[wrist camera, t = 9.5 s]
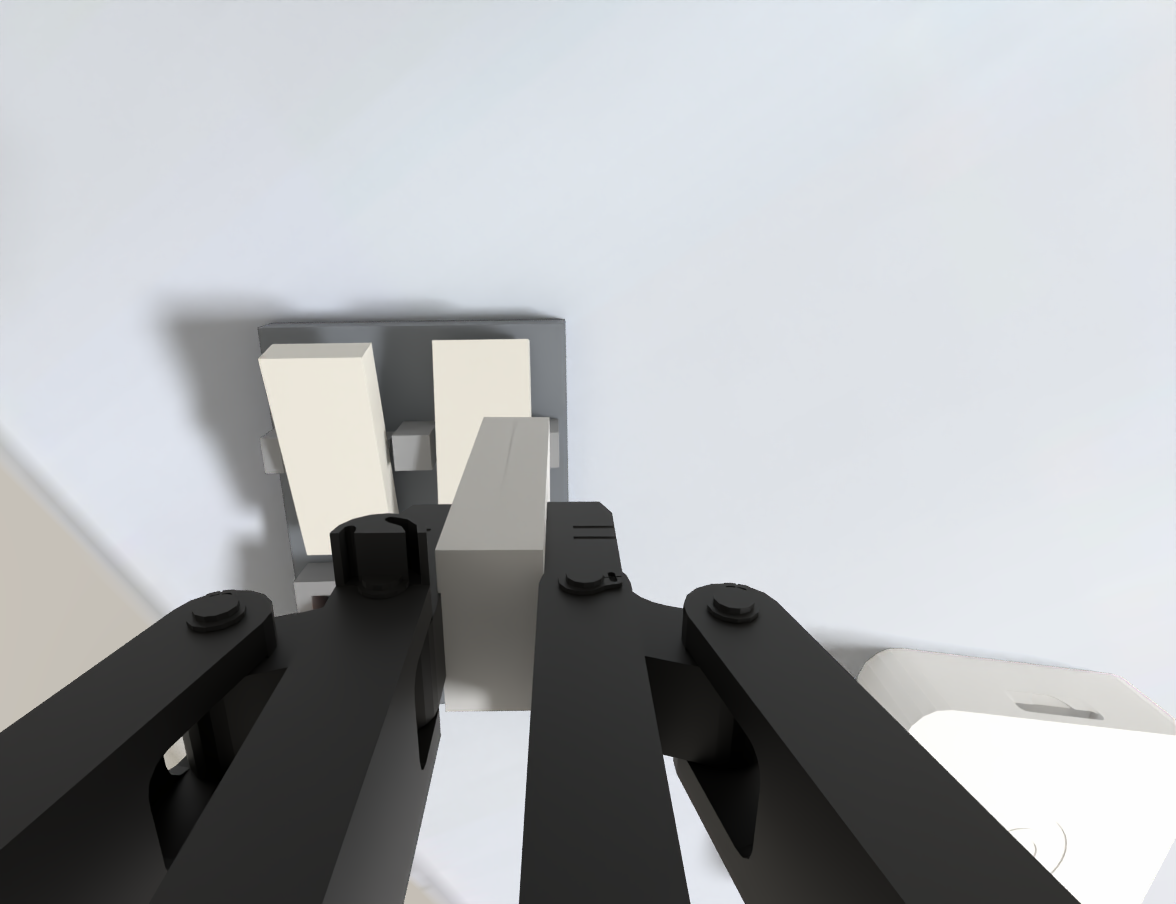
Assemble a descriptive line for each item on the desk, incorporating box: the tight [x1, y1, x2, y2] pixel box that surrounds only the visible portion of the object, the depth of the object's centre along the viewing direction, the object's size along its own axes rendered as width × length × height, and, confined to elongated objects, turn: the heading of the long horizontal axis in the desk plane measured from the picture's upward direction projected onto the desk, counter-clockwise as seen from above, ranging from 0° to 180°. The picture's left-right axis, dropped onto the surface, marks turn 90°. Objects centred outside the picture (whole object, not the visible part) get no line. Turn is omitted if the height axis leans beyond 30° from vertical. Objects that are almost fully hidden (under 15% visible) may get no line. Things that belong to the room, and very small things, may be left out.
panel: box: [258, 319, 568, 704], centre depth 42 cm, size 25×17×5 cm
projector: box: [857, 648, 1176, 904], centre depth 50 cm, size 21×22×7 cm
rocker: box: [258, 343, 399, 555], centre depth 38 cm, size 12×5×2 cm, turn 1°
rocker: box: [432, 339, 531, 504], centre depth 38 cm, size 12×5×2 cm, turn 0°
